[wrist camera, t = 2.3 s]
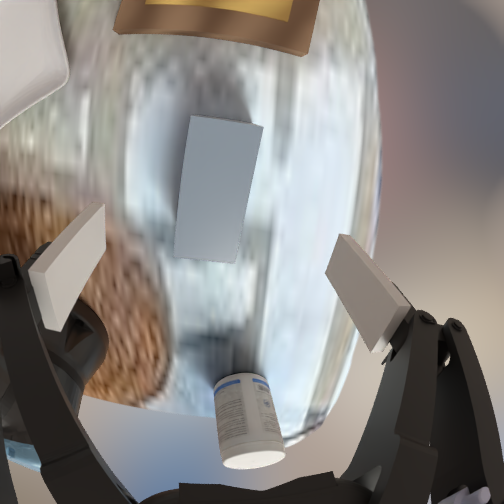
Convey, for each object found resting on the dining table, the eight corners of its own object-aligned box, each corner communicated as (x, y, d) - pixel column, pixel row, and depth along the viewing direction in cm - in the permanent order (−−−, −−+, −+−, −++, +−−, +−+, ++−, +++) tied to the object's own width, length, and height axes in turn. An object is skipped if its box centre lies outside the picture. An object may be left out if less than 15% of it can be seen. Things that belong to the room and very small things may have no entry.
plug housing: (230, 234, 30) (235, 263, 25) (179, 228, 29) (173, 257, 24) (252, 123, 25) (263, 127, 20) (195, 114, 24) (190, 115, 18)
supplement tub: (214, 400, 46) (221, 471, 33) (212, 371, 41) (218, 454, 29) (266, 396, 47) (281, 465, 35) (271, 367, 43) (291, 447, 30)
